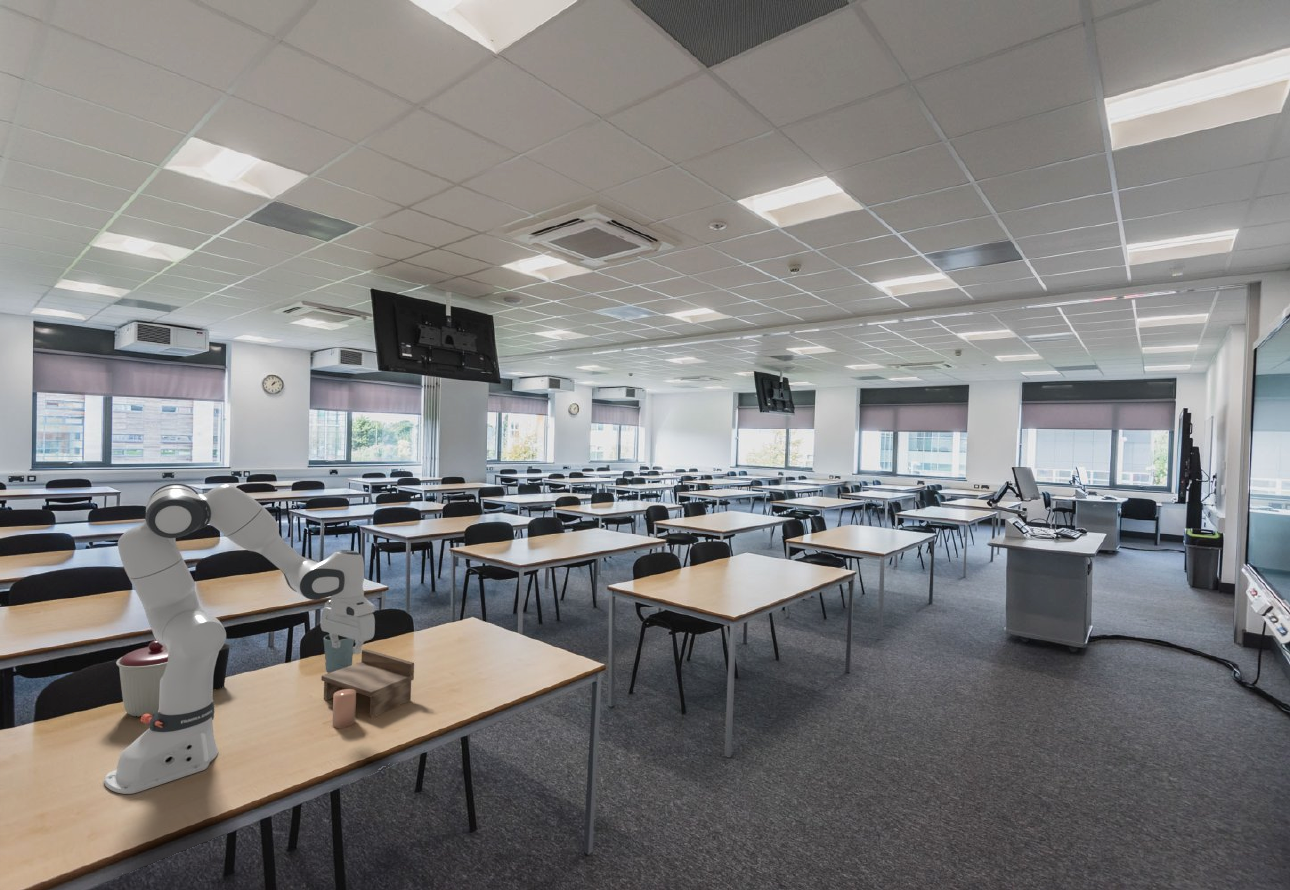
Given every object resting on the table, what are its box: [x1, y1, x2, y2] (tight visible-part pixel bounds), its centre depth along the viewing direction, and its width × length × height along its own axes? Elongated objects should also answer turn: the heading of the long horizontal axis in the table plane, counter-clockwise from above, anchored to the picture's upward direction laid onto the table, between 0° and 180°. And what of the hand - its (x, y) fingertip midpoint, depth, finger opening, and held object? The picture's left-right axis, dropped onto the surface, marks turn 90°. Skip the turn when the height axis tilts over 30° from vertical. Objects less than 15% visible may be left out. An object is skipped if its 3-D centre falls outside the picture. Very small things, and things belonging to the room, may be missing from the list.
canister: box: [115, 639, 168, 718], centre depth 181 cm, size 18×18×21 cm
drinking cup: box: [213, 642, 231, 691], centre depth 198 cm, size 8×8×20 cm
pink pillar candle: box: [332, 689, 357, 729], centre depth 177 cm, size 6×6×9 cm
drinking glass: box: [323, 634, 355, 673], centre depth 218 cm, size 10×10×12 cm
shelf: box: [320, 648, 415, 718], centre depth 193 cm, size 16×24×12 cm, turn 62°
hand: (346, 650), depth 177 cm, fingers open, 8 cm apart
